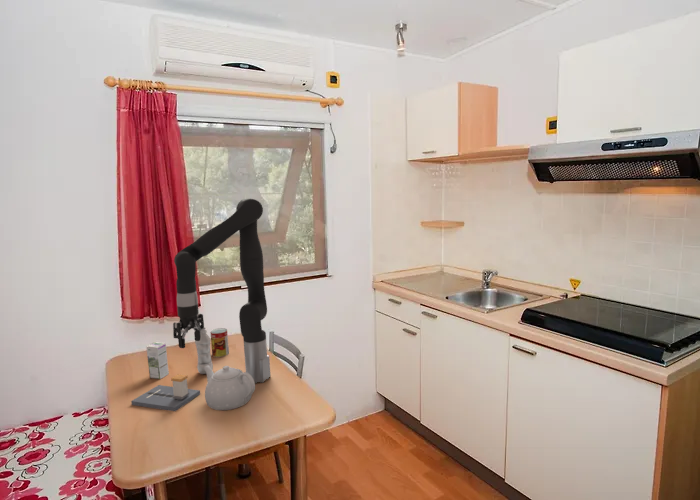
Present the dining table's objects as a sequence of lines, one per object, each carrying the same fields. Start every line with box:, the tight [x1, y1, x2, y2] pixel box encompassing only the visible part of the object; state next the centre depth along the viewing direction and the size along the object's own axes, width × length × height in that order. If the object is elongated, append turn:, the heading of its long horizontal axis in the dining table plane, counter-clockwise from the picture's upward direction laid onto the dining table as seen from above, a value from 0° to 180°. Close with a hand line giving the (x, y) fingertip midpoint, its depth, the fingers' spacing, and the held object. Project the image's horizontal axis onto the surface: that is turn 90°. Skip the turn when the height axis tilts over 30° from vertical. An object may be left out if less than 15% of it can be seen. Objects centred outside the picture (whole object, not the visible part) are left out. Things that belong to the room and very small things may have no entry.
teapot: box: [203, 365, 256, 411], centre depth 159 cm, size 19×18×14 cm
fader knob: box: [171, 373, 189, 400], centre depth 160 cm, size 4×4×8 cm
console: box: [130, 384, 201, 412], centre depth 163 cm, size 20×14×2 cm
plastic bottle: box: [194, 327, 214, 375], centre depth 186 cm, size 6×7×20 cm
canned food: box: [209, 327, 230, 358], centre depth 208 cm, size 8×8×12 cm
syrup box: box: [145, 341, 170, 380], centre depth 184 cm, size 6×6×14 cm
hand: (190, 344), depth 165 cm, fingers open, 8 cm apart
